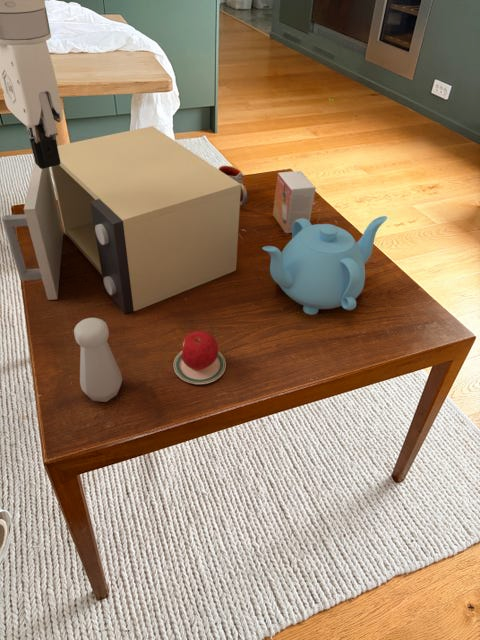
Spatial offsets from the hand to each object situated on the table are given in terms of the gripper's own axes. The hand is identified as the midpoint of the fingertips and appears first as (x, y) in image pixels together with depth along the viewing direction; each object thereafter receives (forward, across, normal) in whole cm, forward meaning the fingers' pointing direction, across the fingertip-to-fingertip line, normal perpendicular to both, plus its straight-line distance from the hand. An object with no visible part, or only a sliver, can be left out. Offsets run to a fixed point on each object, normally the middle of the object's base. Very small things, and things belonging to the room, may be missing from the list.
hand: (48, 164), depth 74 cm
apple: (+24, +29, +8) cm, 38 cm away
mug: (+24, -11, +43) cm, 50 cm away
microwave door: (+23, -10, -2) cm, 25 cm away
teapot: (+24, +25, +35) cm, 50 cm away
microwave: (+23, -3, +15) cm, 28 cm away
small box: (+24, +4, +48) cm, 54 cm away
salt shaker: (+23, +25, -6) cm, 35 cm away
